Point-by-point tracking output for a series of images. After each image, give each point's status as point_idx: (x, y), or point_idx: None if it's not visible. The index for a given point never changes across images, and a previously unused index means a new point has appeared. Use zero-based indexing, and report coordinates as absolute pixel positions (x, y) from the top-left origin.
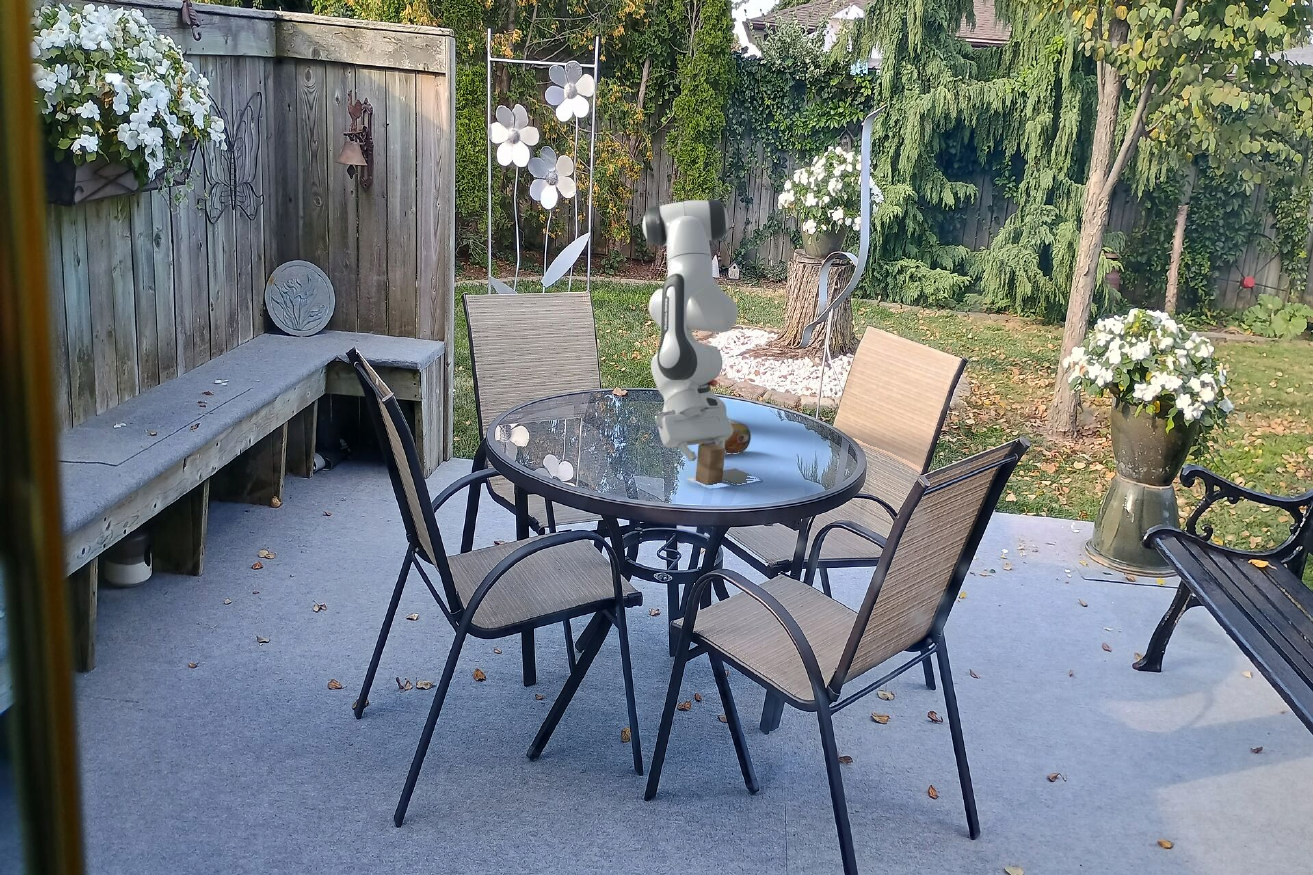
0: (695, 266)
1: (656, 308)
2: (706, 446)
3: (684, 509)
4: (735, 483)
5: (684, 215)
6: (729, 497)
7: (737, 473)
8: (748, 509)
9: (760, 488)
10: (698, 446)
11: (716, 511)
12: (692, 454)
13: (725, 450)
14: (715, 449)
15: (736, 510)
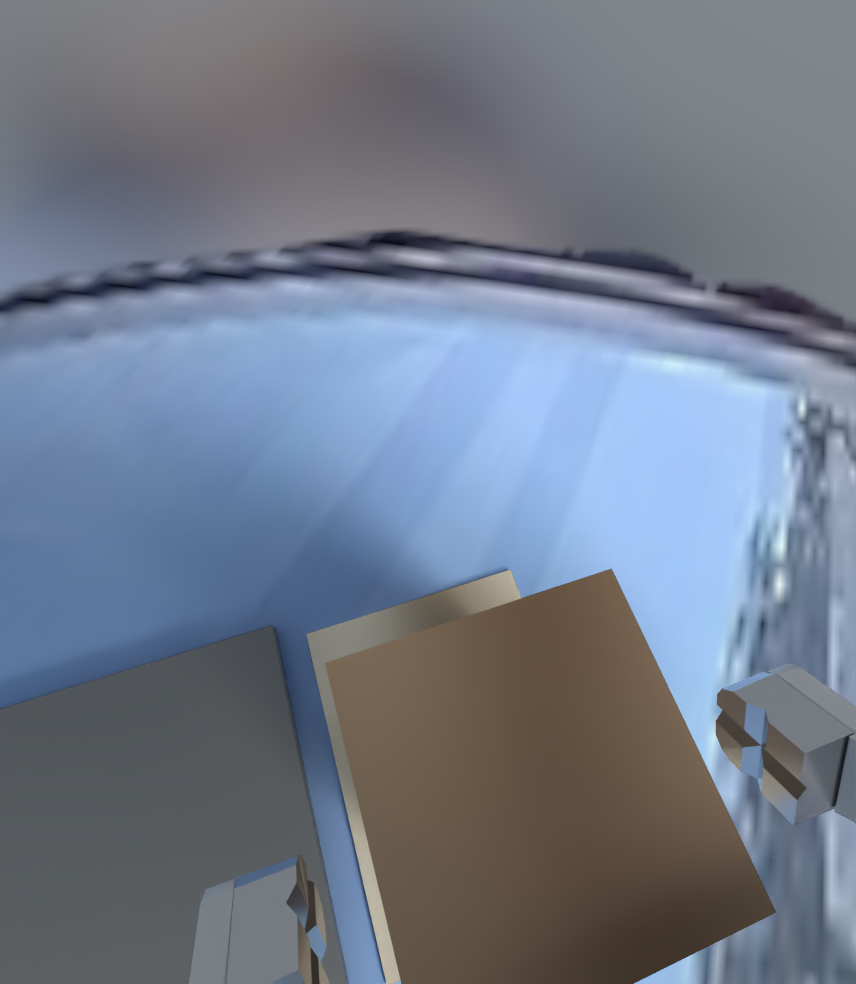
0: None
1: None
2: (630, 822)
3: (730, 312)
4: (262, 647)
5: None
6: (425, 428)
7: (63, 972)
8: (399, 265)
9: (109, 559)
10: (763, 899)
11: (573, 268)
12: (810, 702)
13: (198, 938)
14: (517, 620)
15: (467, 264)
